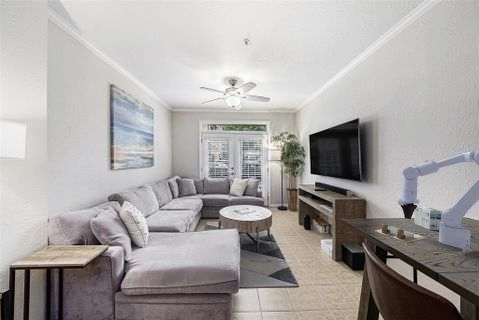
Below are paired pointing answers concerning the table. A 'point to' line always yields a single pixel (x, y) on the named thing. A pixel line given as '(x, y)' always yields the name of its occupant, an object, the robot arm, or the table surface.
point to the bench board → (416, 237)
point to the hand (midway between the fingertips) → (407, 218)
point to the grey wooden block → (393, 231)
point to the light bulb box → (428, 217)
